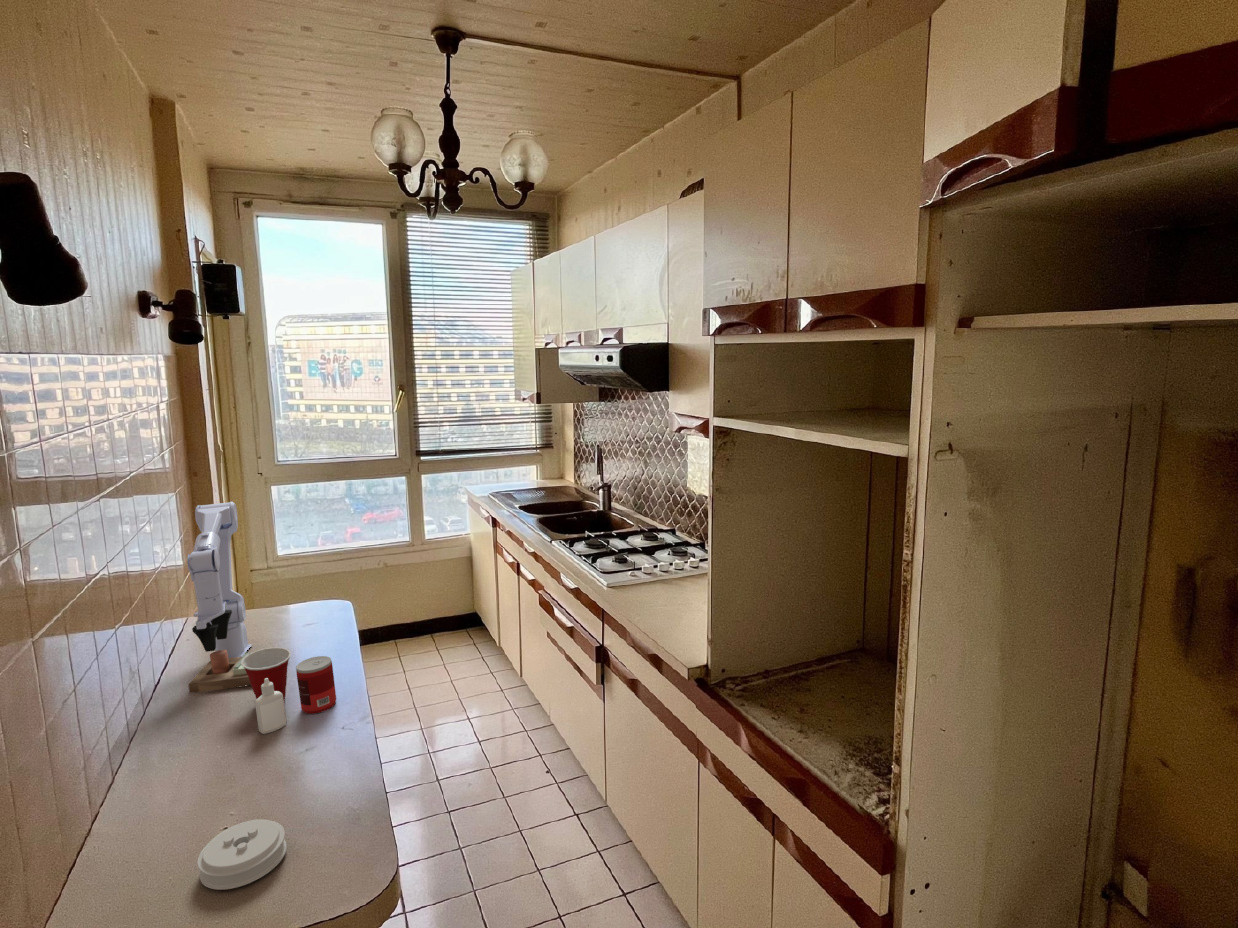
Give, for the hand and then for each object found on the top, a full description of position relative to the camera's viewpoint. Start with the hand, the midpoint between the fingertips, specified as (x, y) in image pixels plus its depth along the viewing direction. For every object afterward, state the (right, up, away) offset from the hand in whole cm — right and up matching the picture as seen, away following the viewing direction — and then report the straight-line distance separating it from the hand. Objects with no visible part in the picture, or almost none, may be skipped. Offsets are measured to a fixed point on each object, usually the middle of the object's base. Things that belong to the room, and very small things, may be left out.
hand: (216, 644), depth 181 cm
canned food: (+34, -11, -16) cm, 39 cm away
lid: (+44, -19, -67) cm, 83 cm away
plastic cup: (+21, -11, -13) cm, 27 cm away
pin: (+1, -9, +2) cm, 9 cm away
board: (+5, -9, +2) cm, 10 cm away
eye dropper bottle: (+28, -13, -25) cm, 39 cm away
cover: (+10, -6, +3) cm, 12 cm away
